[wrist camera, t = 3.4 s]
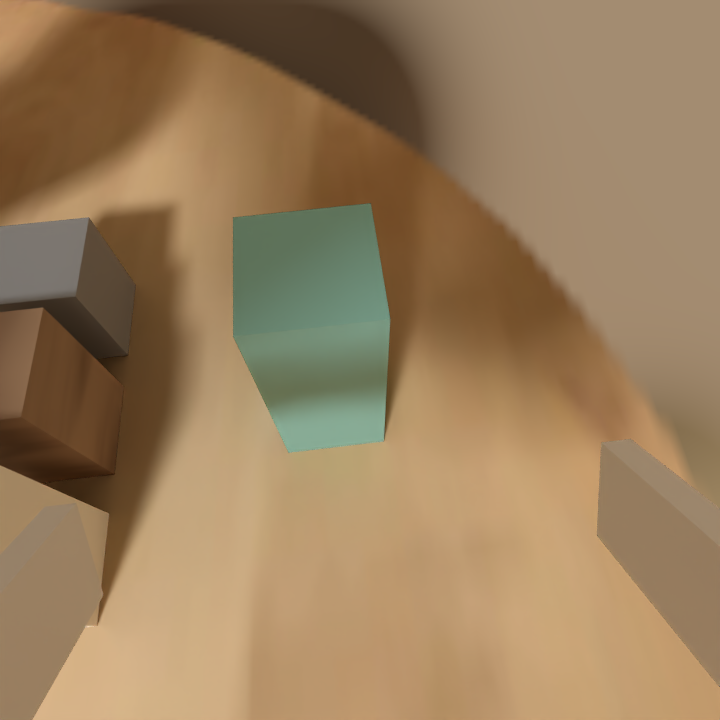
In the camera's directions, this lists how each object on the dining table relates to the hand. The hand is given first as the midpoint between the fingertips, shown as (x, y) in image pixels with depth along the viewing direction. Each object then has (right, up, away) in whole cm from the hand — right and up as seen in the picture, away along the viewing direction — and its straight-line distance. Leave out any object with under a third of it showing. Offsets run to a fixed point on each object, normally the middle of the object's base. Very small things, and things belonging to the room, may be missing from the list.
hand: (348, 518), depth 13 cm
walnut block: (-15, 0, +15) cm, 21 cm away
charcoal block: (-16, +6, +18) cm, 25 cm away
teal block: (-1, +2, +15) cm, 15 cm away
